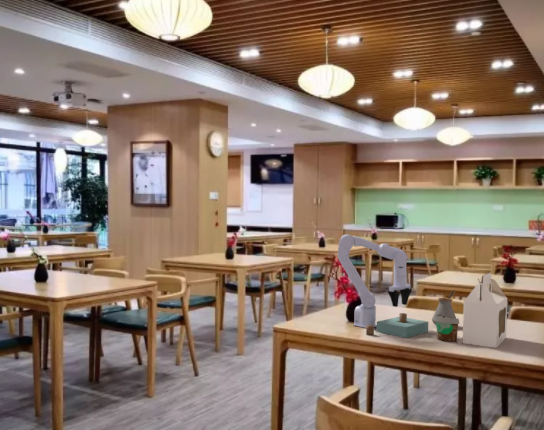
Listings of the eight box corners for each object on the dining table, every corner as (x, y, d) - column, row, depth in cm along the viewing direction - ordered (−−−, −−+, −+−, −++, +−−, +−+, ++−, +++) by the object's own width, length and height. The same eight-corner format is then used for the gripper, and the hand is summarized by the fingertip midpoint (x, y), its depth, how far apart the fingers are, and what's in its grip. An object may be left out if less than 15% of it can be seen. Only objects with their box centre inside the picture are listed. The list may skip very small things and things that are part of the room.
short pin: (364, 334, 249) (364, 325, 249) (369, 333, 251) (369, 324, 251) (370, 335, 247) (370, 326, 247) (375, 334, 249) (375, 325, 249)
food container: (428, 337, 246) (428, 314, 246) (440, 336, 248) (440, 313, 248) (446, 343, 235) (447, 319, 234) (458, 342, 237) (459, 318, 237)
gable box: (474, 333, 255) (476, 270, 254) (506, 337, 248) (508, 273, 247) (462, 343, 236) (464, 275, 235) (496, 348, 229) (498, 278, 228)
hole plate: (376, 331, 255) (376, 321, 255) (399, 326, 268) (399, 316, 267) (405, 337, 244) (406, 327, 244) (428, 331, 257) (428, 321, 257)
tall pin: (397, 331, 256) (398, 313, 256) (401, 330, 258) (402, 312, 258) (403, 332, 254) (404, 314, 253) (407, 331, 256) (408, 314, 256)
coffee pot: (454, 330, 261) (454, 297, 261) (428, 327, 267) (429, 294, 267) (464, 322, 279) (465, 291, 279) (440, 319, 285) (441, 289, 285)
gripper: (398, 278, 256) (398, 308, 256) (416, 275, 266) (416, 304, 266) (385, 276, 261) (385, 306, 261) (403, 274, 271) (403, 302, 271)
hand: (399, 305), depth 264 cm, fingers open, 7 cm apart
